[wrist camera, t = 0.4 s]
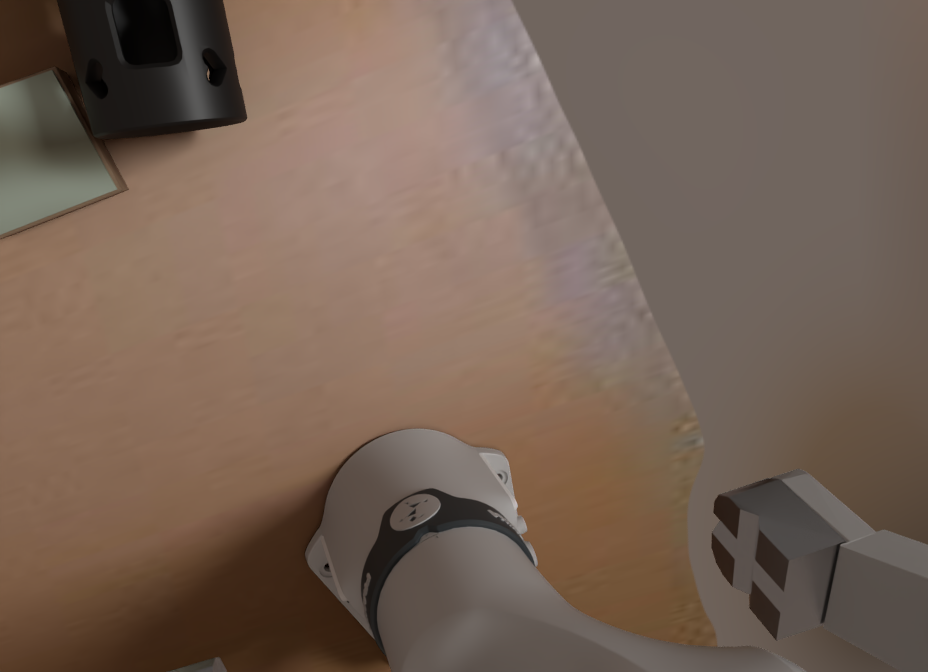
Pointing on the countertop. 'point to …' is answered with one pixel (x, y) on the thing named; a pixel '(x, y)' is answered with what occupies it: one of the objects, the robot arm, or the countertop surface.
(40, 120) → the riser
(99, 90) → the muzzle brake
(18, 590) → the countertop surface
